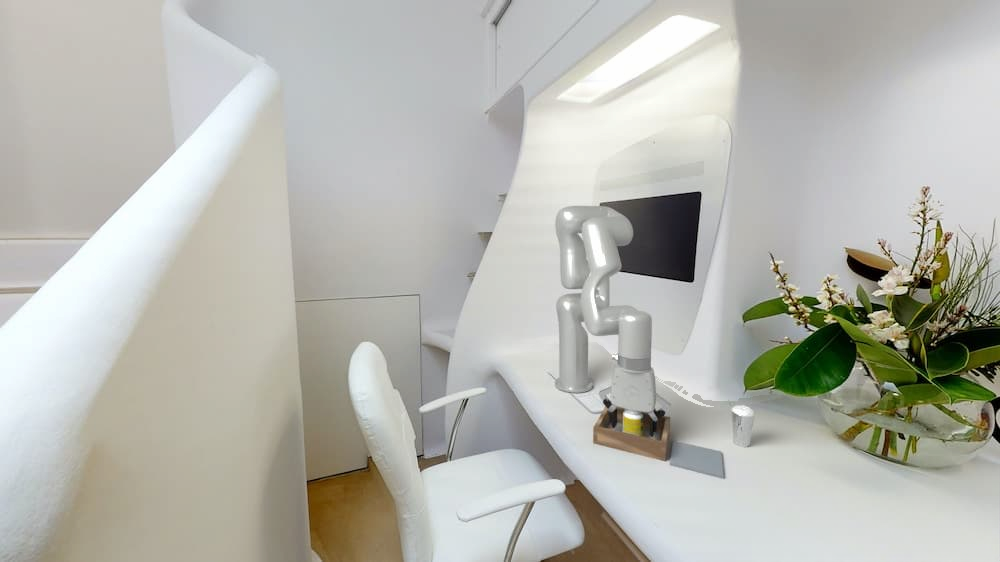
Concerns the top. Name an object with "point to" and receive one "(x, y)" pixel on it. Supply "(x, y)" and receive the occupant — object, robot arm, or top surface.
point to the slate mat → (697, 459)
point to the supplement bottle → (633, 422)
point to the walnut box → (632, 436)
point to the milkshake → (742, 424)
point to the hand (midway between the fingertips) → (632, 429)
